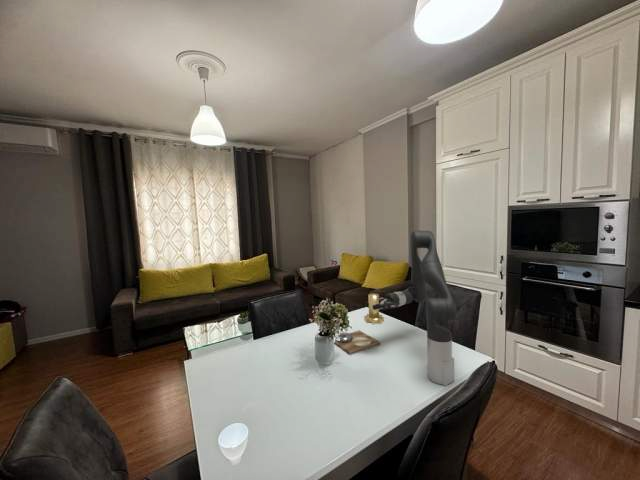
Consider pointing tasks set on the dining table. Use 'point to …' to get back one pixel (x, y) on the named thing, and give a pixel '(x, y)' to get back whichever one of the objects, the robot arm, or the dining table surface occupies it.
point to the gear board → (358, 343)
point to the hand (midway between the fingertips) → (369, 306)
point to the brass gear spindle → (373, 311)
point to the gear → (345, 338)
